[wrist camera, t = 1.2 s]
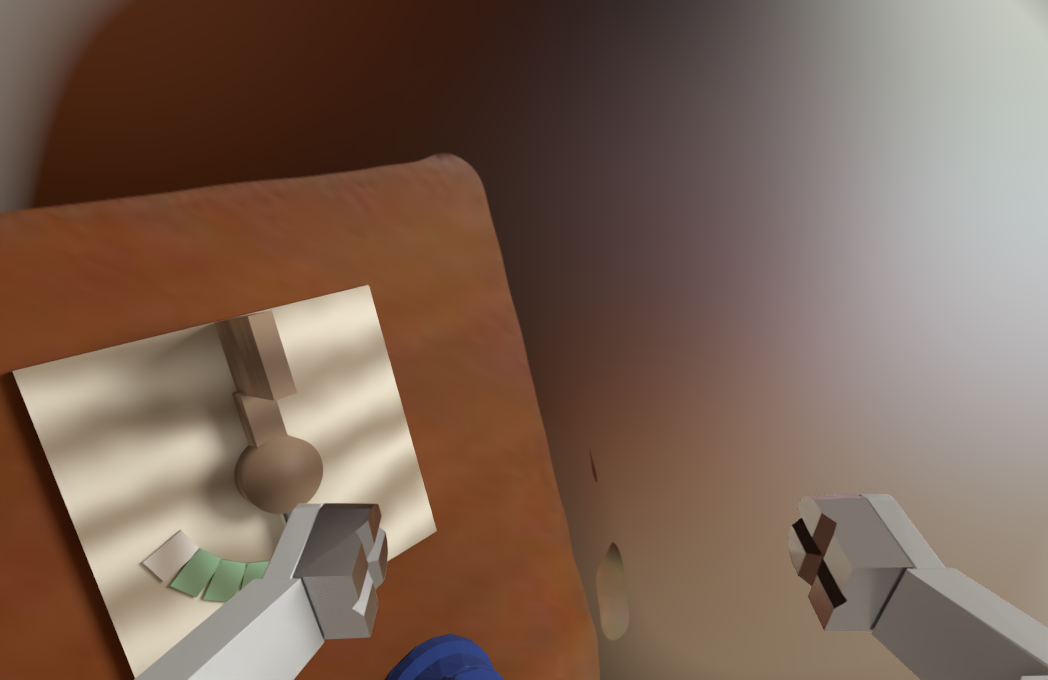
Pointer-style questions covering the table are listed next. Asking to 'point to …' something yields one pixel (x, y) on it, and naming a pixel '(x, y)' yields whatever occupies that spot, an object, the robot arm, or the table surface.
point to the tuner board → (215, 459)
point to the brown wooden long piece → (267, 417)
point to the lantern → (445, 661)
